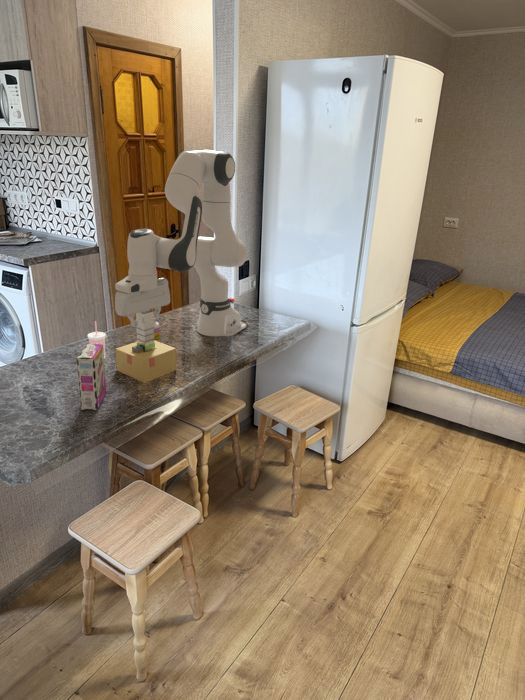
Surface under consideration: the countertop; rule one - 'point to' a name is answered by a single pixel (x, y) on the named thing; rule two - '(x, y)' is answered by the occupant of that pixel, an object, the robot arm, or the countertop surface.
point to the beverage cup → (97, 338)
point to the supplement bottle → (156, 331)
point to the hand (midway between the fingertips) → (144, 322)
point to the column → (145, 330)
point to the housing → (146, 361)
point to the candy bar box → (91, 376)
